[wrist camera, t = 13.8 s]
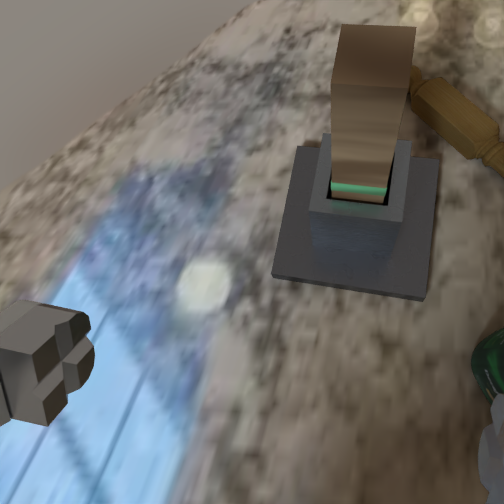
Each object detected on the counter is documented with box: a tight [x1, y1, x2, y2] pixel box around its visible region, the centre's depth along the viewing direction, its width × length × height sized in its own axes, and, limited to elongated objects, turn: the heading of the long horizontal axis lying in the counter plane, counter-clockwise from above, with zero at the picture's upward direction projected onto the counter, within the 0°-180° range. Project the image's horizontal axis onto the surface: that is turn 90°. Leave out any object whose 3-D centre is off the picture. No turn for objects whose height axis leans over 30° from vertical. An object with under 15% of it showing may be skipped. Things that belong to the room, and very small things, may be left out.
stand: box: [271, 133, 439, 302], centre depth 42 cm, size 14×14×10 cm
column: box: [331, 24, 416, 205], centre depth 32 cm, size 4×4×15 cm
